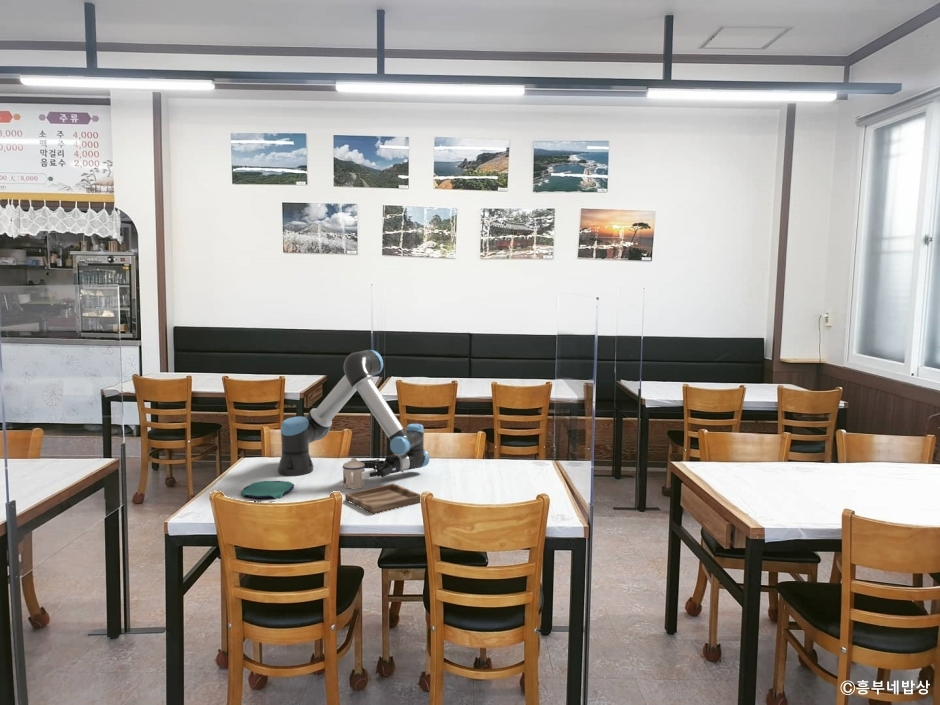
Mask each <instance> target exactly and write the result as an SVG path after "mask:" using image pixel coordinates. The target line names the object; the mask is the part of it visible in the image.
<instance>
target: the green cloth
mask: <svg viewBox="0 0 940 705" xmlns="http://www.w3.org/2000/svg"><path fill="white" fill-rule="evenodd" d="M294 488H295V484H294V483H292V482H291V481H285V480H263V481H256V482H252V483H251V484H249V485H247V486H245V487H243V489H242V490H240V495H242V496H243V497H244V498H246V497H249V498H253V499H254V498H257V499H256V500H255V501H263V500H261V499H262V498H264V499H265V498H275V499H276V498H278V499H280V498H281V497H283V495H284V494H287V493H289V492H291V491H293V489H294ZM245 496H246V497H245ZM260 498H261V499H260ZM258 499H260V500H258ZM251 501H254V500H251ZM272 502H275V500H274V501H269V502H268V503H272Z"/></svg>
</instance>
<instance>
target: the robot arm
mask: <svg viewBox="0 0 940 705" xmlns="http://www.w3.org/2000/svg"><path fill="white" fill-rule="evenodd" d="M343 362H344V363H343V372H344V376H342V378H341V379H340V380H339V381H338V382H337V384H336V385H334V387H333V388H332V389H331V391H330V392H329V393H328V394H327V395H326V397H325V398H324V399H323V400H322V401H321V403H320V404H319V405H318V406H317V407H316V408H315V407H313V408H312V409H311V410H310V411H309V412H308V413H307V414H306V415H305V416H293V417H288V418H286V419H284V420H283V421H282V422H281V427H280V435H281V436H280V437H281V438H280V439H281V440H280V442H281V457H280V459H279V462H278V466H277V473H278V474H279V475H284V476H302V475H307V474H310V473H312V472H313V471H314V463H313V461H312V458H311V456H310V445H309V444H311V443H313V442H317V441H319V440H322V439H324V438H325V437H326V436H327V435H328V433H329V432H330V430H331V426H332V425H333V419H334V418H335V416H336V415H337V414H338V413H339V412H340V411H341V410H342V408H343V407H344V406H345V405H346V404H347V403H348V401H349V400H350V399H351V398H352V396H353V395H354V394H355V393H356V392H358V394H359V395H360V396H361V398H362V400H363V402H364V403H365V405H366V406H367V408H368V409H369V410H370V412H371V414H372V415H373V417H374V418H375V420H376V421H377V422H378V424H379V426H380V427H381V429H382V430H383V432H384V433H385V435H386V436H387V438H388V439H389V441H390V444H389V448H390V451H391V452H392V453H393V454H392V455H387V456H386V457H385V458H384V460H380V459H378V458H377V459H371V460H370V459H369V460H367V459H365V460H358V461H359V462H363V463H364V464H365V469H372V470H366V471H365V472H361V479H371V478H376V477H378V478H379V477H380V478H385V477H386V476H388V475H390V474H395V473H404V471H409V470H410V471H411V470H415V469H420V468H424V467H426V466H427V465H428V464H429V462H430V456H429V452H428V451H427V450H426V449H424V442H425V440H424V438H425V437H424V435H425V432H424V425H423V424H420V423H410V424H409V423H408V424H407V425H406V429H405V428H404V427H403V425H402V424H401V422H400V421H399V419H398V418H397V416H396V414H395V412H393V410H392V409H391V407H390V405H389V403H387V401H386V399H385V397H384V396H383V395H382V393H381V392H380V390H379V388H378V387H377V386H376V383H375V382H374V381H373V377H374V376H377V375H378V374H380V373H381V372H382V371H383V368H384V360H383V357H382V356H381V353H379V352H378V351H376V350H373V349H366V350H361V351H355V352H352V353H350V354H349V355H347V357H346V358H345V360H344V361H343Z"/></svg>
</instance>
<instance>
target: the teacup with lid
mask: <svg viewBox="0 0 940 705" xmlns="http://www.w3.org/2000/svg"><path fill="white" fill-rule="evenodd" d="M359 461H360V460H357V458H356V457H352V458H351V459H350V460H349V461H348V462H344V463H343V465H342V472H343V473H342V474H343V475H342V477H343V478H342V479H343V480H342V481H343V485H342V486H343V488H345V489H347V488H358V489H361V487H362V488H363V486H364V487H365V482H366V480H365V479H361V472H366V471H365V470H366V468H365V464H364V463H363V462H359Z"/></svg>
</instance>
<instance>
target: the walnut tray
mask: <svg viewBox="0 0 940 705" xmlns="http://www.w3.org/2000/svg"><path fill="white" fill-rule="evenodd" d="M420 495H421V494H420V493H417V492H414V491H413V490H410V489H407V488H406V487H404V486H400V485H399V484H396V483H391V484H386V485H385V484H384V485H381V486H376V487H372V488H367V489H362V490H358V491H353V492H349V493H345V495H344V496H345V497H344V498H345V499H344V500H347V501H350V502H352V503H354V504H355V505H358V506H359V507H361V508H363V509H364V510H363V509H362V510H363V511H365V510H366V511H365V512H367V511H368V512H367V513H369V512H370V513H369V514H371V513H372V514H371V515H376V514H375V513H377V514H381V513H384V512H383V511H385V512H388V511H387V510H389V511H392V510H391V509H393V510H396V509H395V508H397V509H400V508H399V507H401V508H404V507H403V506H405V507H408V505H409V506H411V505H412V506H413V505H416V504H421V503H420ZM347 501H346V502H347ZM355 505H354V506H355ZM359 507H358V508H359ZM361 508H360V509H361ZM380 512H381V513H380Z"/></svg>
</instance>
